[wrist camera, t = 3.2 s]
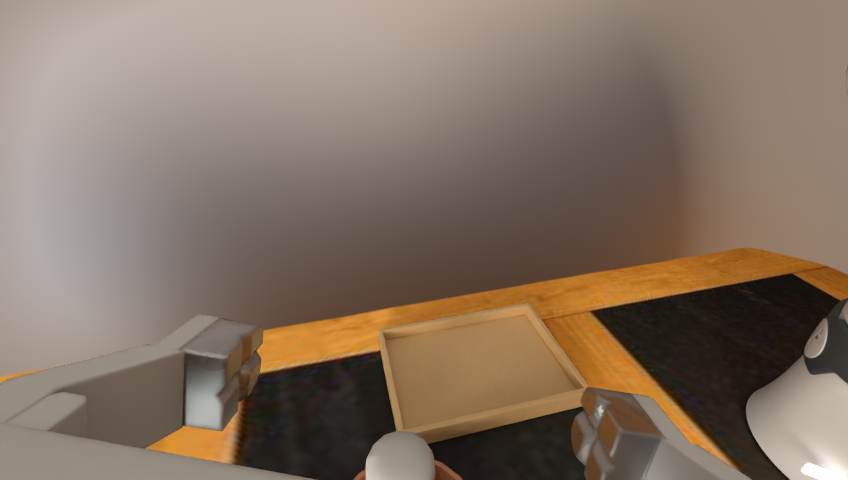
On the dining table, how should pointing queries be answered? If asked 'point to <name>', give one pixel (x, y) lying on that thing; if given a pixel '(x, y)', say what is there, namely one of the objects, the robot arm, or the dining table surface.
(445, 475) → the pan
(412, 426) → the tray
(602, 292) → the dining table surface
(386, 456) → the salt shaker
